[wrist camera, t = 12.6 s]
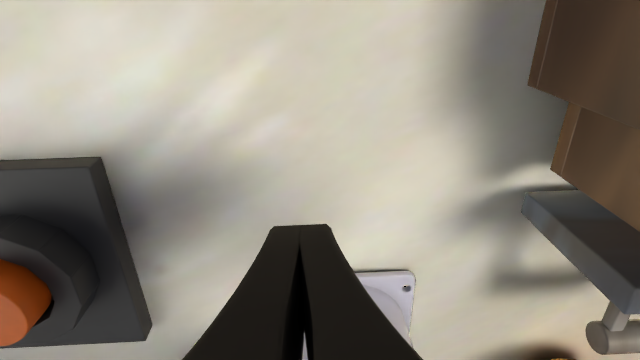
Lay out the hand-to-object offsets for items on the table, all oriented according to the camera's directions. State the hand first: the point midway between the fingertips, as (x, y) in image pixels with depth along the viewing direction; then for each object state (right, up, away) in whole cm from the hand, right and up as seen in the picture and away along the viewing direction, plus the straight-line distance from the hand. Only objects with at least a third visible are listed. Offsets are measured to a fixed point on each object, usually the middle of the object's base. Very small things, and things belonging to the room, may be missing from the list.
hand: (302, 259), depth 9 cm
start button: (-14, -3, +9) cm, 17 cm away
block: (-14, -2, +11) cm, 18 cm away
